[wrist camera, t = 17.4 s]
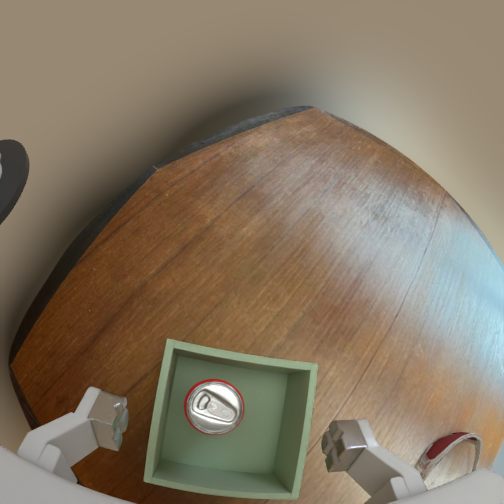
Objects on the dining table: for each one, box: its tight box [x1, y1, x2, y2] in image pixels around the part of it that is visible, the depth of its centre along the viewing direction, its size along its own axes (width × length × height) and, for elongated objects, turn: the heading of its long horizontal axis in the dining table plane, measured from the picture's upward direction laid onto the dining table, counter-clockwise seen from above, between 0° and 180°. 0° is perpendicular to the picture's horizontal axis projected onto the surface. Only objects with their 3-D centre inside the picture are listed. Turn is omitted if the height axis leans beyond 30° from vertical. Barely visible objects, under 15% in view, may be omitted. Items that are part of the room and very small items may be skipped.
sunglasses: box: [420, 432, 482, 482], centre depth 29 cm, size 17×17×5 cm
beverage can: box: [184, 379, 244, 435], centre depth 27 cm, size 5×5×12 cm
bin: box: [143, 339, 318, 499], centre depth 28 cm, size 16×16×9 cm
